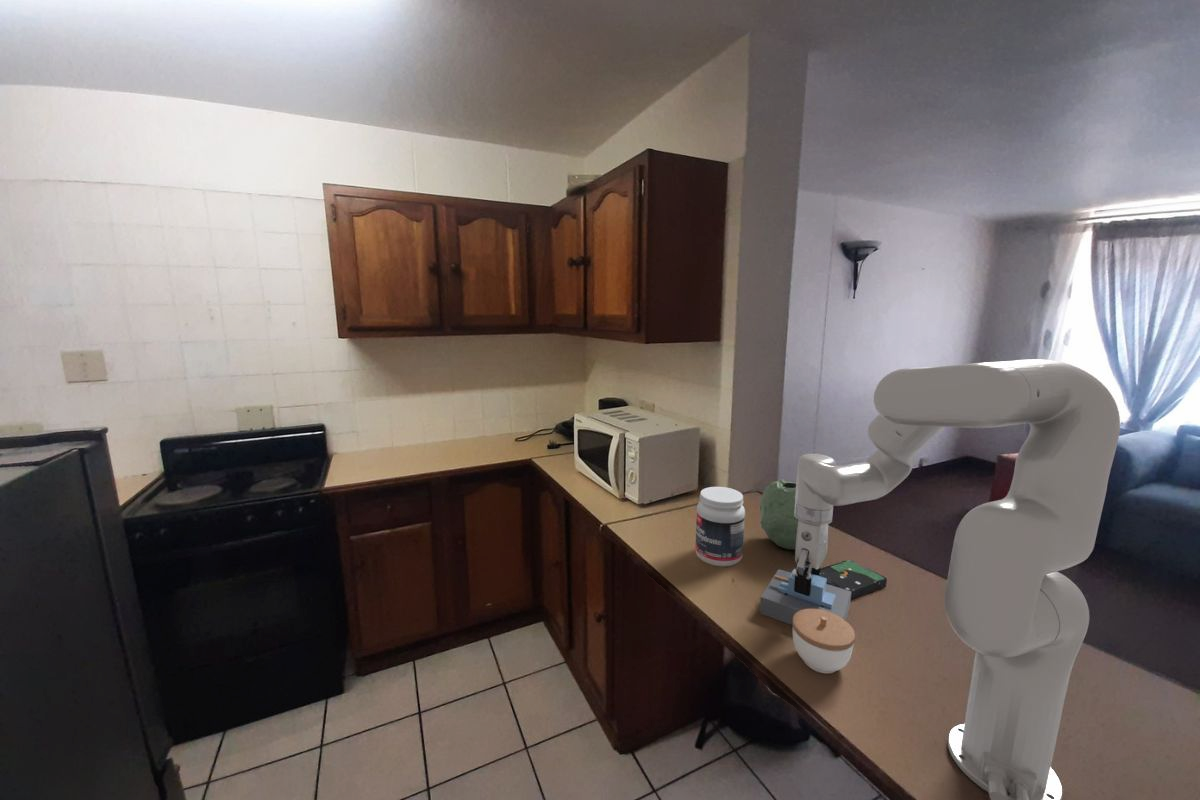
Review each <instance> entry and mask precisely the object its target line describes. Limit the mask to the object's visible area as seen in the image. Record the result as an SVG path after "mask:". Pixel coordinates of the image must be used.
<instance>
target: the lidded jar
mask: <svg viewBox="0 0 1200 800" xmlns="http://www.w3.org/2000/svg"><path fill="white" fill-rule="evenodd" d="M792 624H793V625H792V642H793V646H794V648H795V650H796V653H797V654H798V655H799V656H798V657H800V658H801V659H802V661H803V662H804V664H805V665H806V666H808V667H809V669H811V670H813V671H815V672H817V673H820V674H826V675H827V674H834V673H835V672H836V671H840V670H842V669H843V668H844V667H845V666H847V664H848V663H849V662H850V659H851V656H852V654H853V651H854V650H853V649H854V646H855V645H854V644H855V641H856V633H855V630H854V628H853V627H852V626H851V624H850V623H849V622H848V621H847V620H846V621H845V620H844V619H842V618H841V617H839V616H837V615H835V614H833V613H831V612H828V611H824V610H820V609H803V610H800V611H798V612H797V613H795V614H794V616H793V620H792Z"/></svg>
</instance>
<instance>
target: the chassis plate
mask: <svg viewBox="0 0 1200 800" xmlns="http://www.w3.org/2000/svg"><path fill="white" fill-rule="evenodd" d="M791 573H792V572H789V571H786V570H783V569H777V571H776V572H775V574H774V576H775V575H778V576H781V577H784V578H787V579H789V576H790V575H791ZM774 576H773V577H772V578H771V580H770V582H769V583H768V585H767V586H766V588H765V590H764V591H763V593H762V594H761V595H760V602H759V603H760V604H759V614H761V613H762V615H764V614H765V615H764V616H766V615H767V617H771V618H772V619H775V620H778V621H781V622H783V623H786V624H788V625H791V626H793V624H792V620H793V616H794V614H795V613H797V612H798V611H800V610H803V609H820V610H824V611H828V612H831V613H833V614H835V615H837V616H839V617H841V618H842V619H844V620H845V621H846V622H847V618H848V614H849V612H850V607H851V600H852V599H851V591H848V590H845V589H841V588H838V587H835V586H832V585H828V584H826V592H829V593H832V594H835V595H836V597H835V601H834V603H833V606H832V608H829V607H826V606H823V607H820V606H817V605H814V604H811V603H808V602H805V601H802V600H800V599H797V598H794V597H791V596H788V594H787V593H784V592H781V591H778V590H779V586H780V584H781V583H782V581H779V580H776V579H774Z"/></svg>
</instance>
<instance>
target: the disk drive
mask: <svg viewBox="0 0 1200 800" xmlns="http://www.w3.org/2000/svg"><path fill="white" fill-rule="evenodd" d="M811 574H812V573H811ZM813 575H815V574H813ZM817 576H820V577H823V578H827V584H828V585H832V586H835V587H838V588H841V589H845V590H848V591H851V600H854V599H855V598H858V597H861V596H864V595H866V594H869V593H871V592H875V591H876V590H881V589H883V588H885V587H887V581H888V578H887V577H885V576H884V575H882V574H879V572H876V571H874V570H872V569H870V568H868V567H866V566H864V565H861V564H859V563H857V562H855V561H854V560H853V559H848V560H842V561H840V562H837V563H834V564H830V565H827V566H825V567H821V570H820V575H817Z"/></svg>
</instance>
